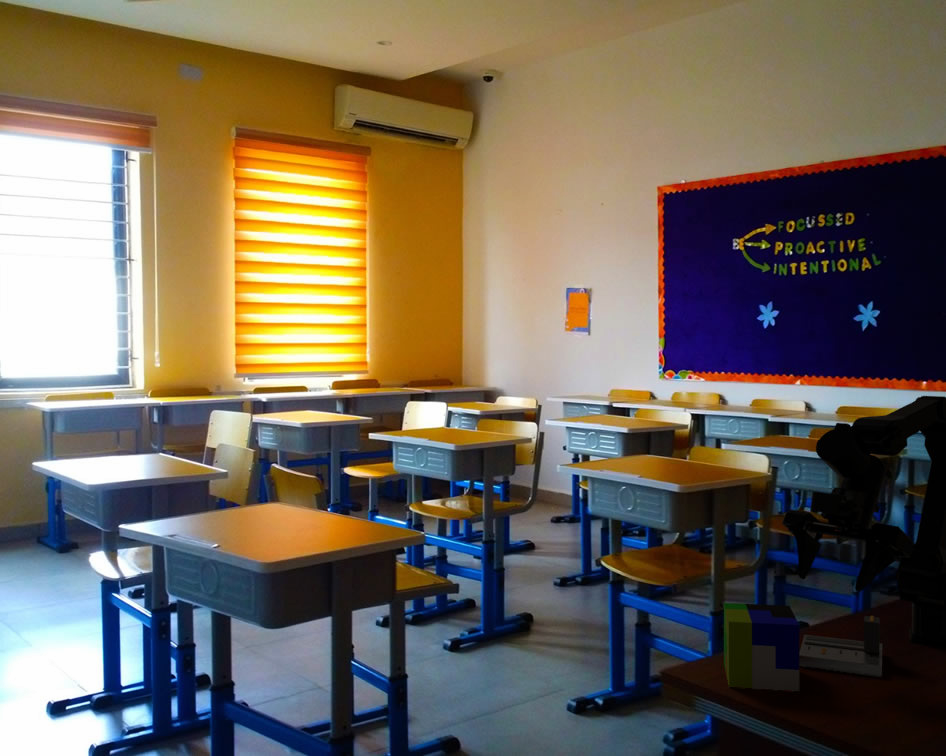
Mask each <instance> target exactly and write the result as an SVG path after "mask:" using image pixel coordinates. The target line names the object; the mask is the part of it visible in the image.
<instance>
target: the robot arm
mask: <svg viewBox="0 0 946 756" xmlns="http://www.w3.org/2000/svg"><path fill="white" fill-rule="evenodd" d="M918 433H921V434H922V436H923V437H924V446H923V447H924V448H925V450H926V452H927V455H928V457H929V458H930V459H929V460H930V468H929V471H928V478H927V483H926V488H925V492H924V500H923V504H922V509H921V514H920V521H919V526H918V531H917V534H916V535H917V536H916V539H915V540H916V541H915V542H914V541H913V539H912V538H911V537H910V536H909V535H908V534H907V533H906V532H904V530H902V529H901V527H900V526H898V525H892V524H885V523H879V522H876V523H874V524H873V525H871V522H872V518H873V516H874V513H877V514H879V513H880V509H881V506H880V505H879V504H877V503H878V500H879V497H880V493H881V490H882V487H883V484H884V480H885V479H889V480H890V479H892V476H893V475H892V471H891V469H890V468H889V466H888V462H887V461H885V460H881V459H880V458H879V457H878V456H888V457H896V456H899V454H900V453H902V451H903V450H904V449H905V448H906V447H908V439H909V438H910V437H913V436H914V435H916V434H918ZM815 451H816V455H817V456H818V458H820V459H821V461H823V463H824V464H826V465H827V467H829V468H830V469H831V470H832V471H833V472H834V473H835V474H837V476H839V477H841V482H840V484H839V487H836V486H834V487H833V489H832V491H831V492H830V493H827V492H820V491H812V493H811V503H810V510H809V511H808V512H807V511H803V510H795V509H789V510H788V511H786V512H785V513H784V516H783V519H782V522H781V525H783V526H784V527H785V528H786V529H787V530H788V532H789V534H791V535H792V536H794V539H795V542H796V547H797V556H798V557H797V560H798V576H799V579H801V580H805V579H806V578H807V577H808V574H809V572H810V571H811V568H812V566H813V564H814V562H815V560H816V557H817V555H818V553H819V551H820V548H821V547H822V544H821V543H820V542H819V541H820V540H821V539H823V536H824V535H825V536H831V537H836V538H837V537H838V538H842V539H846V540H847V539H848V540H853V541H859V542H863V543H865V555H864V557H863V561H862V564H861V566H860V570H859V573H858V574H857V578H856V581H855V582H856V583H855V589H854V590H856V592H858V593H862V591H863V590H864V589H865V588H867V586H868V585H869V584H870V583H871V582H872V581H874V579H876V577H877V576H879V575H880V574H881V573H882V572H883V571H884V570H886V569H887V568H888V567H889V566H890V565H892V564H893V563H895V562H898V563H899V564H898V566H897V570H896V573H895V574H896V575H895V581H896V586H897V590H898V596H899V600H900V601H903V602H905V601H906V602H909V603H911V609H912V611H911V612H912V613H911V617H912V618H911V620H912V621H911V627H910V628H909V629H908V632H909V641H910V642H912V643H913V642H914V643H921V644H931V645H938V646H939V645H940V646H946V396H942V395H938V396H937V395H921V396H918V397H917V398H915V400H914V401H912V402H909V403H908V404H906V405H904V406H902V407H900V408H898V409H896V410H894V411H892V412H889V413H887V414H885V415H873V416H872V415H870V416H862V417H859V418H856V419H855V420H854V421H853V423H852V425H850V423H845V422H836V423H835V427H834V428H833V429H830V430H828V431H827V432H825V433H824V434H823V435H822V436H821V437H820V438H818V440H817V442H816V444H815ZM875 455H876V456H875ZM813 513H820V516H821V518H823V519H824V520H827V522H825V521H820V520H819V519H818V518H816V516H814V515H813ZM870 525H871V527H870Z"/></svg>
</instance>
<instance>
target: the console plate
mask: <svg viewBox="0 0 946 756" xmlns="http://www.w3.org/2000/svg"><path fill="white" fill-rule="evenodd" d="M799 666H802V667H801V668H806V667H811V668H810V669H814V668H821V669H826V670H825V671H829V670H833V671H832V672H837V671H840V672H839V673H844V672H846V674H852V673H855V674H854V675H860V674H861V675H863V676H870V677H875V678H876V677H878V678H883V643H880V642H879V653H873V652H864V640H863V641H862V640H855V639H846V638H845V639H844V638H836V637H828V636H818V635H811V634H810V635H809V634H804V635H803V638H802V642H801V645H800V648H799ZM821 669H820V670H821Z"/></svg>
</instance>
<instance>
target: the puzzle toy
mask: <svg viewBox="0 0 946 756" xmlns="http://www.w3.org/2000/svg"><path fill="white" fill-rule="evenodd" d="M799 652H800V624H799V621H798V619H797V618H796V616H795V614H794V612H793V610H792V608H791V605H784V604H781V605H780V604H763V603H762V604H761V603H759V604H758V603H740V602H739V603H734V602H723V666H724V671H725V675H726V680H728V681H727V684H728V685H729V686H728V688H729V687H743V688H742V689H745V688H752V689H751V690H761V689H766V691H768V690H767V689H773V690H772V691H778V690H791V691H790V692H794V691H799V692H800V667H799Z"/></svg>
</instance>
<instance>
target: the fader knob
mask: <svg viewBox="0 0 946 756" xmlns="http://www.w3.org/2000/svg"><path fill="white" fill-rule="evenodd" d="M863 621H864V622H863V624H864V625H863V642H864V652H873V653H879V643H880V629H881V628H880V626H881V625H880V617H879V616H877V617H876V616H874V615H870V616H869V615H868V616H867V615H865V616H864V617H863Z"/></svg>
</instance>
